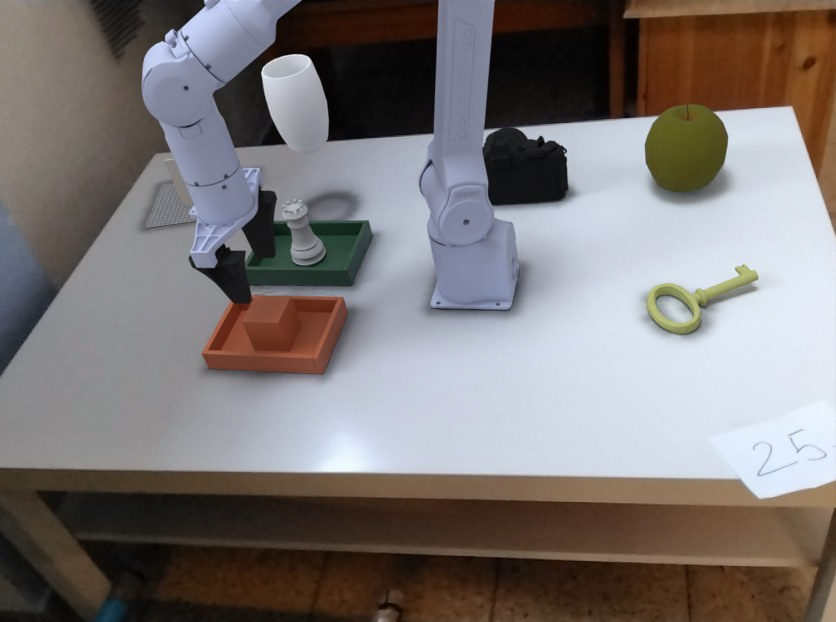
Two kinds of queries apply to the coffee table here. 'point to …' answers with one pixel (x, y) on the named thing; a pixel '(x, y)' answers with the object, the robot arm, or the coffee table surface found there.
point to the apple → (686, 148)
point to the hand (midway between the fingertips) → (254, 278)
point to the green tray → (335, 269)
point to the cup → (296, 102)
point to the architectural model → (171, 201)
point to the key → (695, 299)
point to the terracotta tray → (305, 355)
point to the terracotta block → (272, 323)
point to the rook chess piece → (302, 235)
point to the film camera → (524, 168)
